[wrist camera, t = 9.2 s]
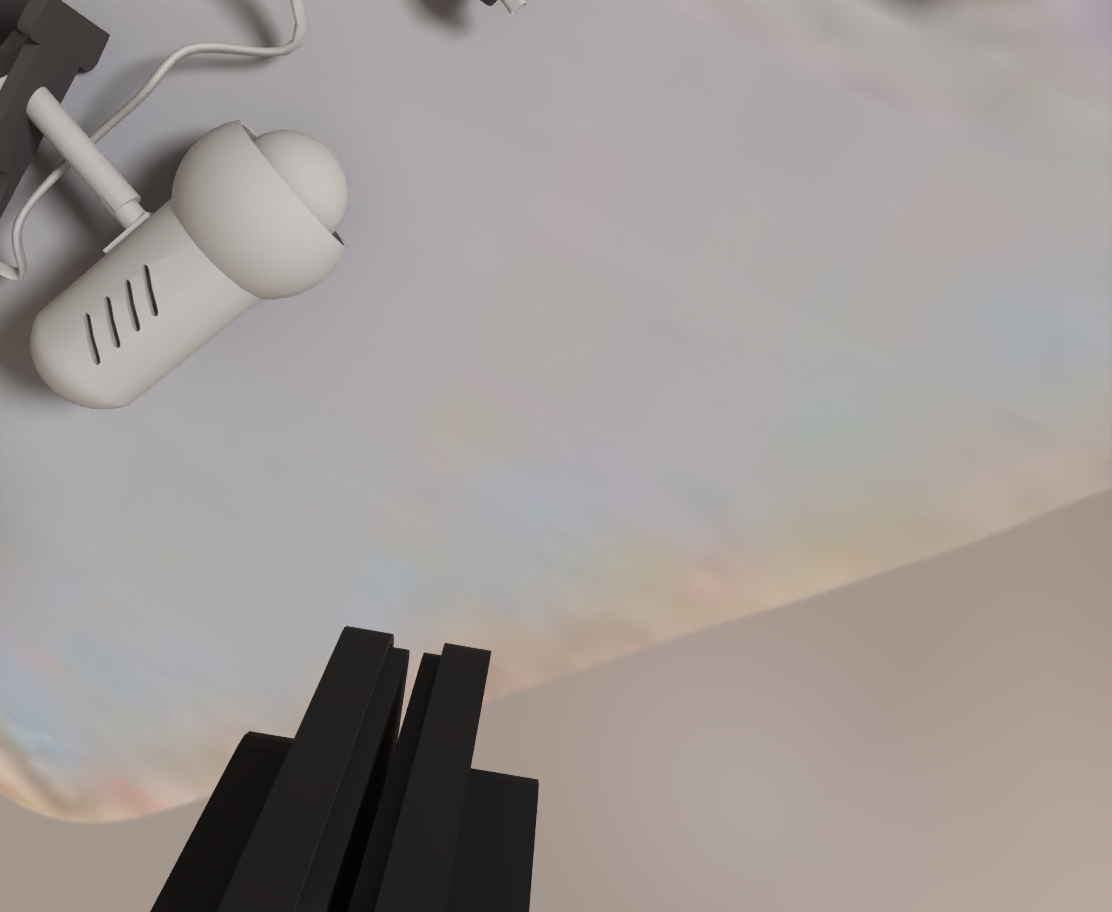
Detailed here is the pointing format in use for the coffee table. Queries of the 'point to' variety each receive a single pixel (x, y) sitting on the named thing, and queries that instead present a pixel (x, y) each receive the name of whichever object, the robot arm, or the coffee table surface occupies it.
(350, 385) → the coffee table surface
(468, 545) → the coffee table surface
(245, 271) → the clip-on lamp
